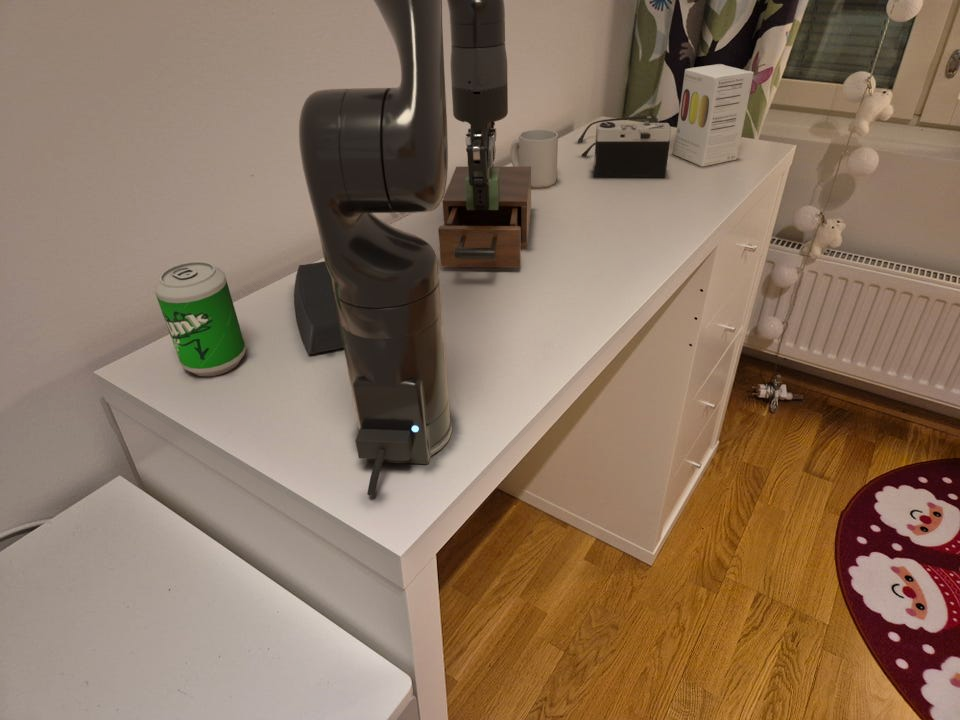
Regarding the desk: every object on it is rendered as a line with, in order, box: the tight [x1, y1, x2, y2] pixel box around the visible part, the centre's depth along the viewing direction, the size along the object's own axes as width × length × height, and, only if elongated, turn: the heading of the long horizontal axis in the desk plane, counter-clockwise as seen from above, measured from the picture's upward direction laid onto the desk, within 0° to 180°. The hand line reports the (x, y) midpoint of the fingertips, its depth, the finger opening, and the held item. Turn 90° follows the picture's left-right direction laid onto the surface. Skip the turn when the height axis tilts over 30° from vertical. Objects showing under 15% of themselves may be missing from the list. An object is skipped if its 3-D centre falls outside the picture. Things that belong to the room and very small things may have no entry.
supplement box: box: [672, 63, 755, 167], centre depth 130 cm, size 10×9×17 cm
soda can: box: [153, 260, 247, 377], centre depth 76 cm, size 8×8×12 cm
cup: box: [509, 129, 559, 189], centre depth 125 cm, size 7×10×9 cm
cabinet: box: [441, 166, 532, 250], centre depth 107 cm, size 16×13×8 cm
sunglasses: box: [577, 114, 659, 157], centre depth 140 cm, size 16×17×5 cm
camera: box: [593, 120, 672, 179], centre depth 127 cm, size 14×9×10 cm, turn 76°
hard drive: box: [293, 260, 344, 355], centre depth 87 cm, size 13×19×4 cm
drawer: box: [437, 206, 522, 268], centre depth 97 cm, size 20×12×6 cm, turn 174°
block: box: [465, 168, 500, 210], centre depth 96 cm, size 5×5×5 cm
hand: (483, 201), depth 97 cm, fingers open, 5 cm apart
